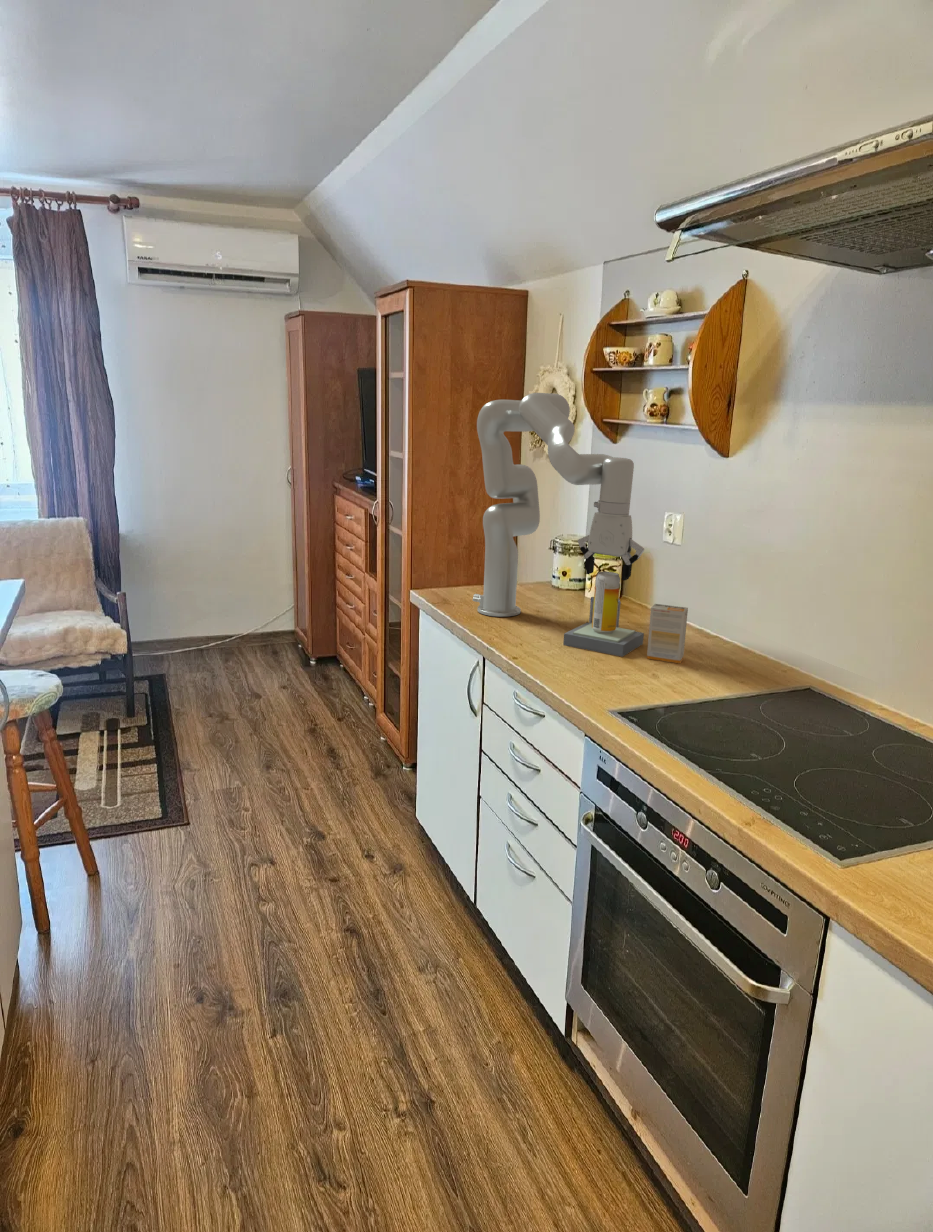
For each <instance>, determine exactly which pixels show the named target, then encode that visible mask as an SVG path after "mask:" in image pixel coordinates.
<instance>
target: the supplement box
mask: <svg viewBox="0 0 933 1232" xmlns="http://www.w3.org/2000/svg"><path fill="white" fill-rule="evenodd" d="M688 611H689V607H684V606H675V605H667V604H659V603H654V604H653V605H651V607H650V616H649V627H648V629H649V630H648V641H647V651H646V659H647V660H654V661H655V660H656V661H662V662H668V663H674V664H681V662H682V661H683V660H684V655H685V654H684V653H685V644H686V634H687V632H686V631H687V624H688V623H687V621H688V613H689V612H688Z"/></svg>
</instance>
